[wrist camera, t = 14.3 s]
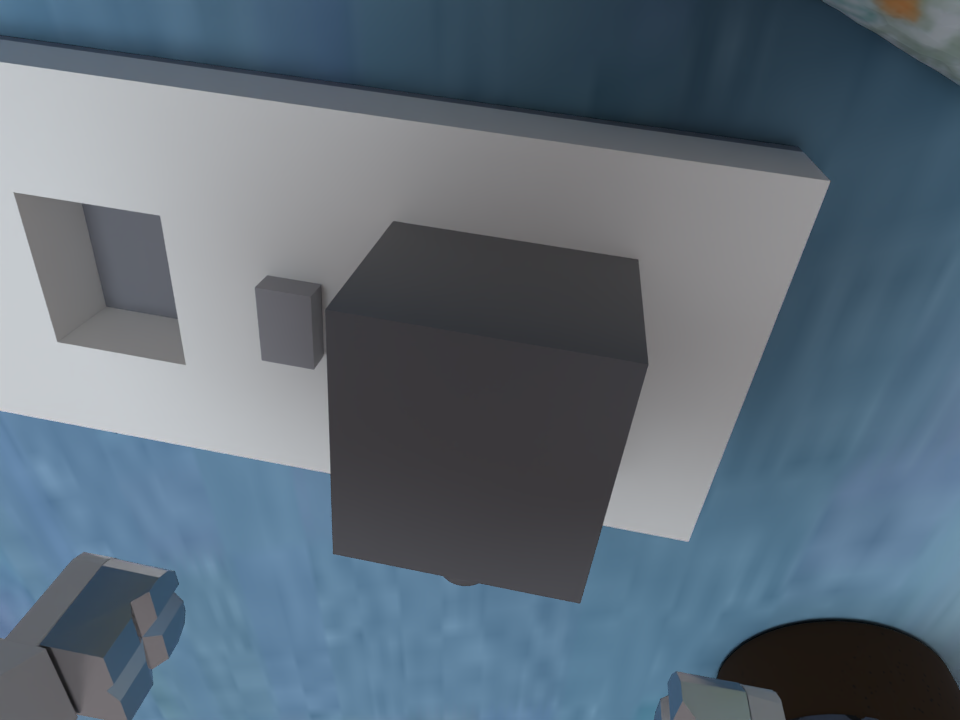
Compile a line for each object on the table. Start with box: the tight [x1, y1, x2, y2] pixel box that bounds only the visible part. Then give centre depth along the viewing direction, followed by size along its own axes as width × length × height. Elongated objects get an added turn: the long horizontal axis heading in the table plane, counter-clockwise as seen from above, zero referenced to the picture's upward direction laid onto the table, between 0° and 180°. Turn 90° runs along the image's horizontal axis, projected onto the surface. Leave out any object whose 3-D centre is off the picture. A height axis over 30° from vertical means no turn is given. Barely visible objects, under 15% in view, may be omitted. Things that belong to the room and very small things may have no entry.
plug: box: [325, 221, 649, 603], centre depth 18 cm, size 10×6×7 cm
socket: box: [0, 35, 830, 542], centre depth 20 cm, size 12×26×4 cm, turn 84°
